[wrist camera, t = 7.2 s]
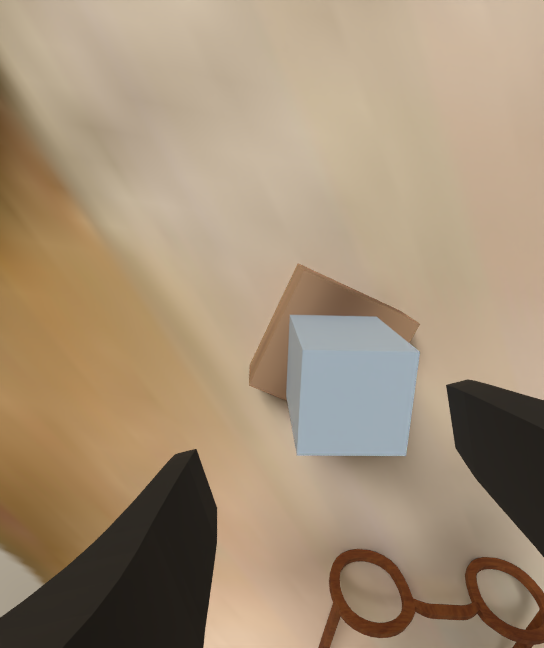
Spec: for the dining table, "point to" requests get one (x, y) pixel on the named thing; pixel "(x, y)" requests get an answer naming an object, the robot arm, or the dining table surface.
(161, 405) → the dining table surface
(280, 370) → the walnut slab
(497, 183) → the dining table surface
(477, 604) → the glasses
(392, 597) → the dining table surface
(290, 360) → the slate cube
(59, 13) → the dining table surface
